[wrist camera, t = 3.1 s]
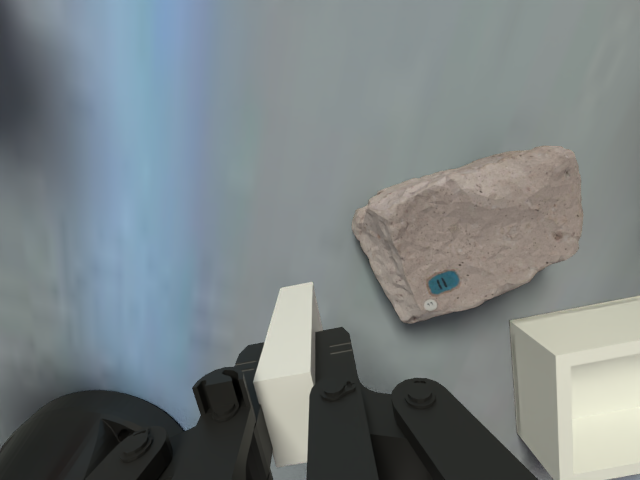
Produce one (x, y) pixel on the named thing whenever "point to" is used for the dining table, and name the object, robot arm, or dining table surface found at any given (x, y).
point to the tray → (580, 389)
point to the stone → (472, 230)
